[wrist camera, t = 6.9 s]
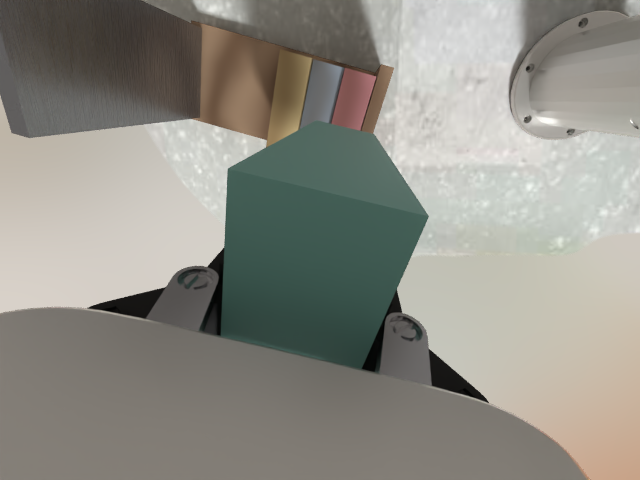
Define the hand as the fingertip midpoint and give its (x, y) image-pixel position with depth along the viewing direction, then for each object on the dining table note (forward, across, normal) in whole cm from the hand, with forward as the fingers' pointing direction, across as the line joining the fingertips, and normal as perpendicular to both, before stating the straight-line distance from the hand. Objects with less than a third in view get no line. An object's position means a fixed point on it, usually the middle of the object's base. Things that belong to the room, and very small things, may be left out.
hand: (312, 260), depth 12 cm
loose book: (+9, 0, 0) cm, 9 cm away
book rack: (+30, +9, -5) cm, 31 cm away
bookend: (+28, +20, -5) cm, 35 cm away
